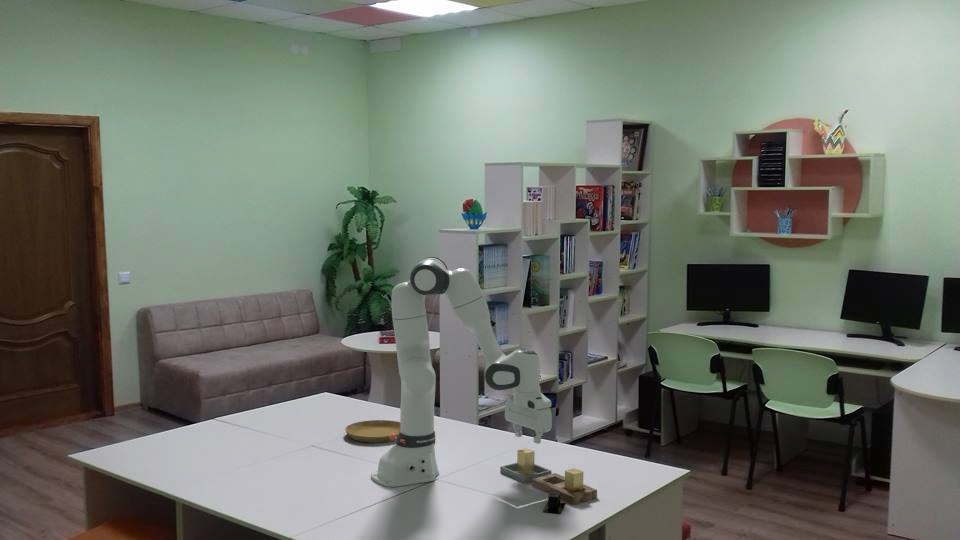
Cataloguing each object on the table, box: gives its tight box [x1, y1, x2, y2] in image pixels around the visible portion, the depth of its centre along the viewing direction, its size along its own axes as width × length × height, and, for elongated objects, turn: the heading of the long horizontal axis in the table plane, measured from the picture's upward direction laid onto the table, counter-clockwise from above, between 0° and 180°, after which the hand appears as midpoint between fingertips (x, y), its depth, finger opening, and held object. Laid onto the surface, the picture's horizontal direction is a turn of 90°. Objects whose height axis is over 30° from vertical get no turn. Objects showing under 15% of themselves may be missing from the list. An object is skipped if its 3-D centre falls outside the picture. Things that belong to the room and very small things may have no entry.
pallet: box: [531, 472, 598, 506], centre depth 259 cm, size 10×19×2 cm, turn 37°
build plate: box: [542, 492, 567, 515], centre depth 246 cm, size 12×7×5 cm, turn 164°
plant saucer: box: [344, 419, 400, 444], centre depth 319 cm, size 24×24×3 cm
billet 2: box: [564, 468, 584, 493], centre depth 255 cm, size 4×4×8 cm
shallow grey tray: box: [499, 462, 552, 485], centre depth 274 cm, size 11×13×2 cm
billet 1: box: [516, 447, 536, 476], centre depth 273 cm, size 4×4×8 cm
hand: (527, 439), depth 273 cm, fingers open, 8 cm apart
